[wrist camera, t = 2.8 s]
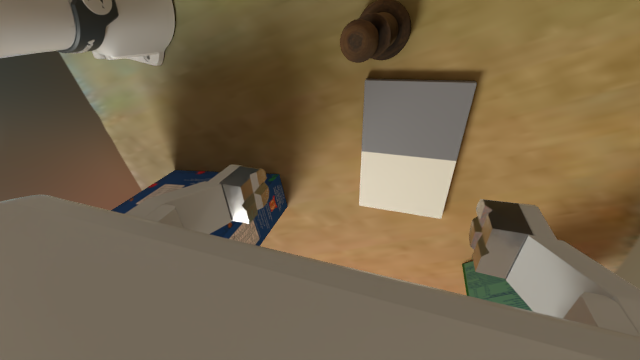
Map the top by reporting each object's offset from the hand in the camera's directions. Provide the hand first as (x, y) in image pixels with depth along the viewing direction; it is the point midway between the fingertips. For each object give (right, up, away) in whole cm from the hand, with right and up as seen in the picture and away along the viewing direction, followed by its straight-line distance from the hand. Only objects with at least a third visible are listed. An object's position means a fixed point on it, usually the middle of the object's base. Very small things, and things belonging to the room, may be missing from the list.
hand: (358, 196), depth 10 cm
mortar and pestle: (+7, +20, +24) cm, 32 cm away
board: (+12, +5, +31) cm, 34 cm away
